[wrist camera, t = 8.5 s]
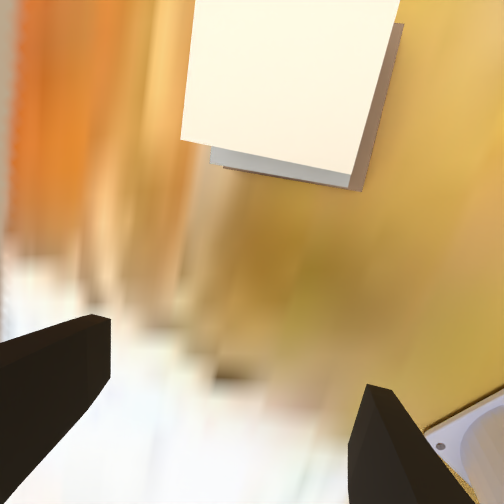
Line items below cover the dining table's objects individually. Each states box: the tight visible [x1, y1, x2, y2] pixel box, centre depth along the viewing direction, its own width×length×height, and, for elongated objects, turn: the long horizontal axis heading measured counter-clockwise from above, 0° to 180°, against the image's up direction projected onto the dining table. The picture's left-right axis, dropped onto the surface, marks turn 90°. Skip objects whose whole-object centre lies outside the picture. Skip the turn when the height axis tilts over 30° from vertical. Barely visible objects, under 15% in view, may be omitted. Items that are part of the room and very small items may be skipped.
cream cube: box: [180, 0, 400, 175], centre depth 10 cm, size 4×4×4 cm
